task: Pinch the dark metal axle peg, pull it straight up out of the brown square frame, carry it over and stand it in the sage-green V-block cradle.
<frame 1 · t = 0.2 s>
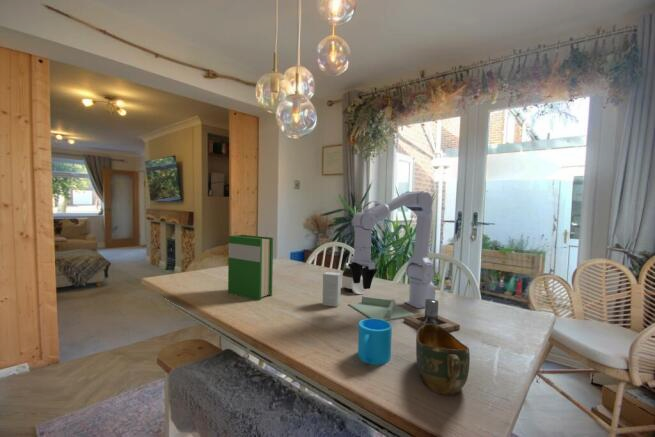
hand: (361, 285, 106), 10 cm above the table, tool pointing down, fingers open, 7 cm apart
sage V-block: (375, 310, 110), on the table
mug: (371, 360, 75), on the table
hardback book: (249, 294, 127), on the table
brown square frame: (430, 325, 98), on the table
spread jar: (354, 291, 135), on the table
cup: (438, 379, 67), on the table
metal axle: (431, 313, 98), in the brown square frame
skincare box: (331, 305, 116), on the table
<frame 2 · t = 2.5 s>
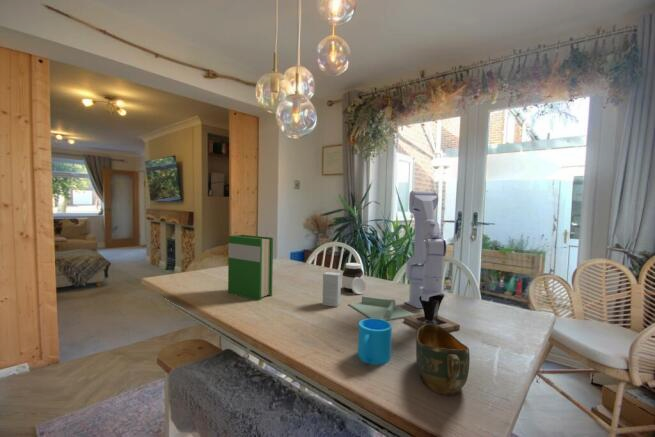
hand: (431, 317, 98), 2 cm above the table, tool pointing down, fingers closed on metal axle, 4 cm apart
metal axle: (431, 313, 98), in the brown square frame, touching gripper
everything else where it was.
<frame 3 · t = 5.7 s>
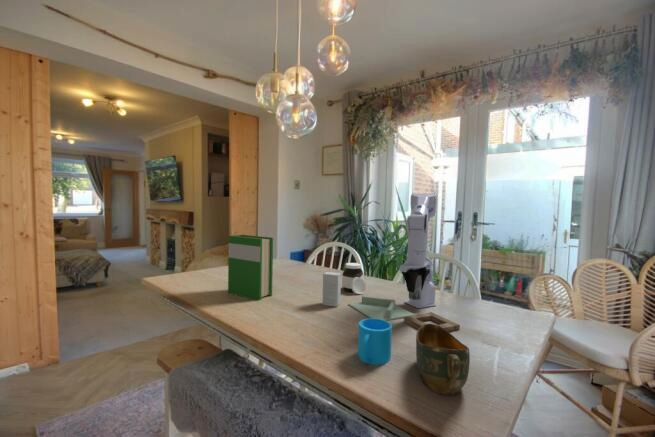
hand: (414, 290, 102), 10 cm above the table, tool pointing down, fingers closed on metal axle, 4 cm apart
metal axle: (415, 286, 102), point 11 cm above the table, touching gripper
everything else where it was.
when the fingers open (4 cm above the table, at t = 8.8 s): metal axle drops 1 cm, resting on sage V-block.
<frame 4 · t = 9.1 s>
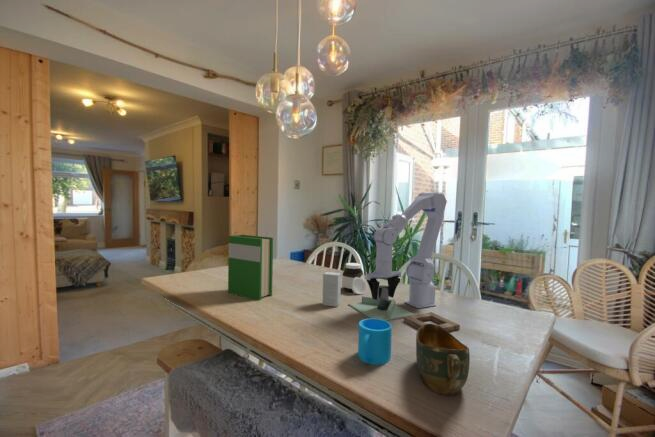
hand: (382, 297, 111), 4 cm above the table, tool pointing down, fingers open, 7 cm apart
metal axle: (382, 297, 111), resting on sage V-block
everything else where it was.
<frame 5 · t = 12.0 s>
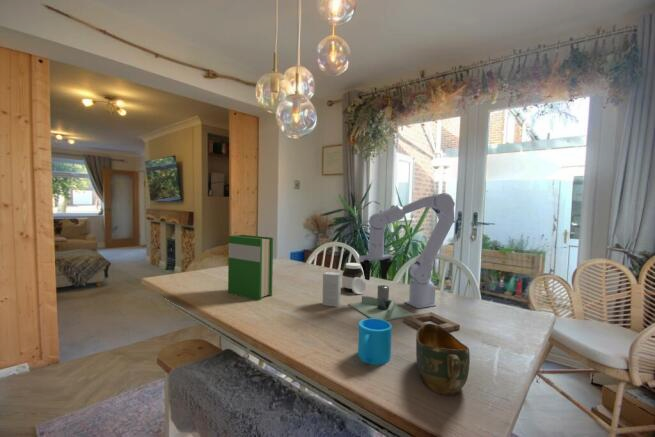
hand: (375, 278, 119), 9 cm above the table, tool pointing down, fingers open, 7 cm apart
nothing on the table moved.
at the end: metal axle 0.1 cm from the target spot on the sage V-block, point 4.5 cm above the sage V-block's base; metal axle tilted 0°; the gripper is holding nothing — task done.
